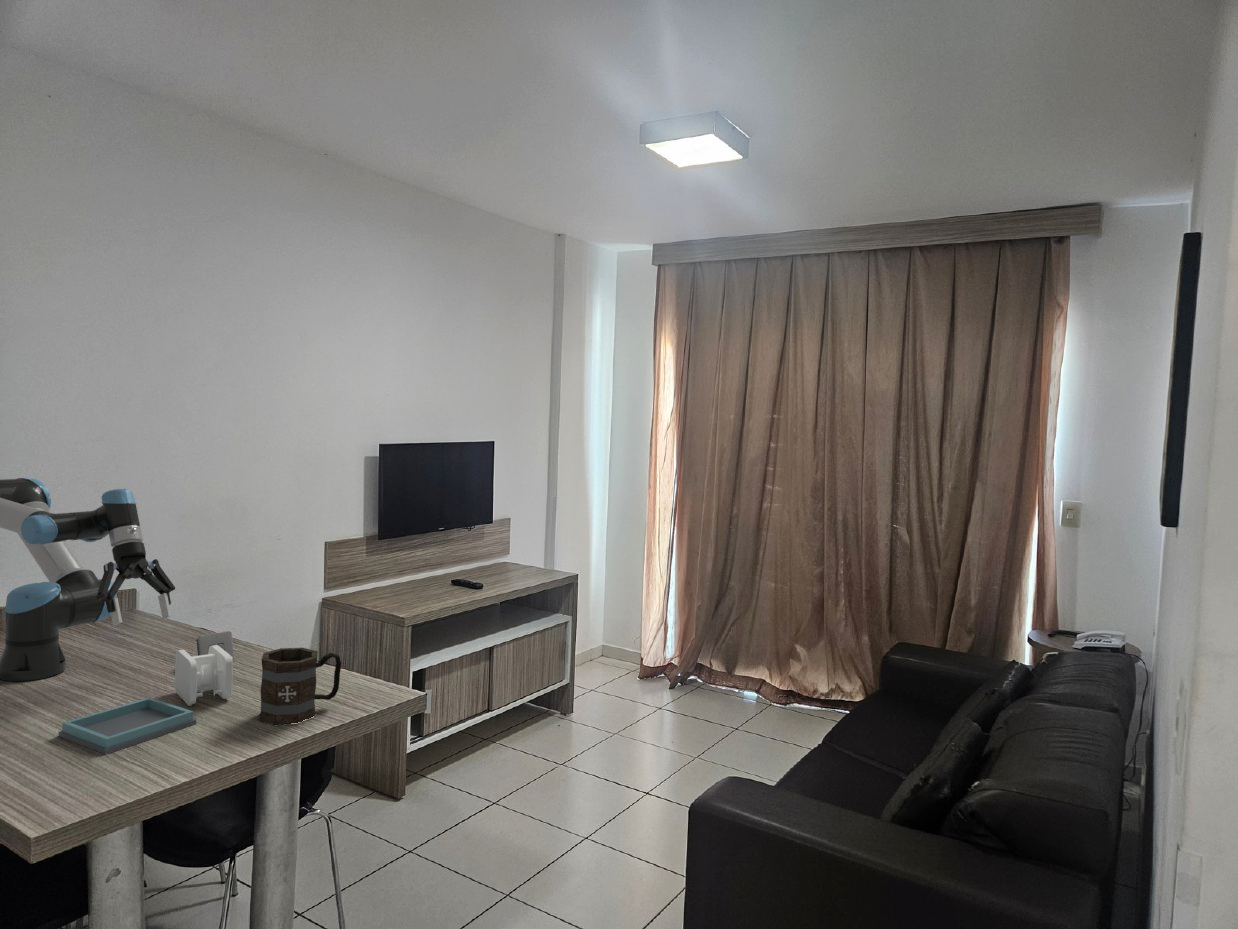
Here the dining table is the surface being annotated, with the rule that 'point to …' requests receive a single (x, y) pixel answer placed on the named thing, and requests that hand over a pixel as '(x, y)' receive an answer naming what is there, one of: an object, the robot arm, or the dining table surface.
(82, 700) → the dining table surface
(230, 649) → the electrical switch
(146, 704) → the teal tray
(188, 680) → the white spool piece
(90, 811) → the dining table surface
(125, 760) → the dining table surface
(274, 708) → the mug
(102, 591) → the robot arm
